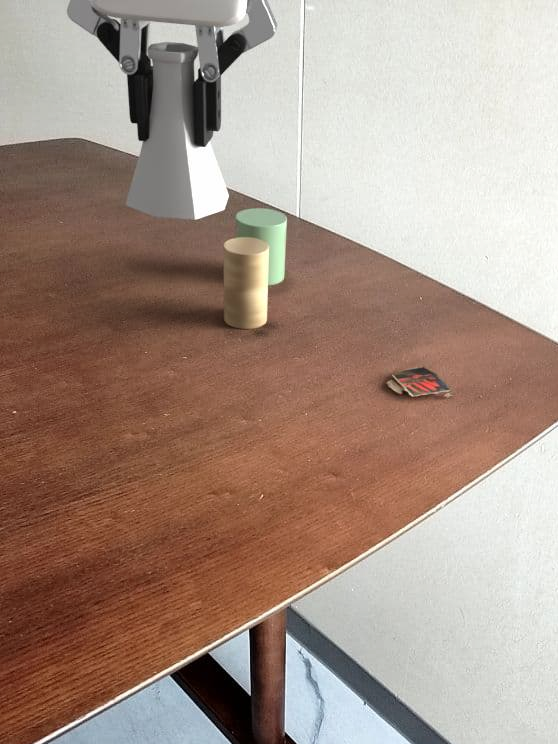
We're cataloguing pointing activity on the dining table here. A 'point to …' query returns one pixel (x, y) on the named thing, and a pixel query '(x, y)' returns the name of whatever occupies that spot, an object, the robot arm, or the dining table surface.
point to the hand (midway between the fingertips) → (176, 135)
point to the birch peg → (245, 282)
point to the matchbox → (419, 382)
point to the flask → (175, 145)
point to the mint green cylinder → (266, 236)
